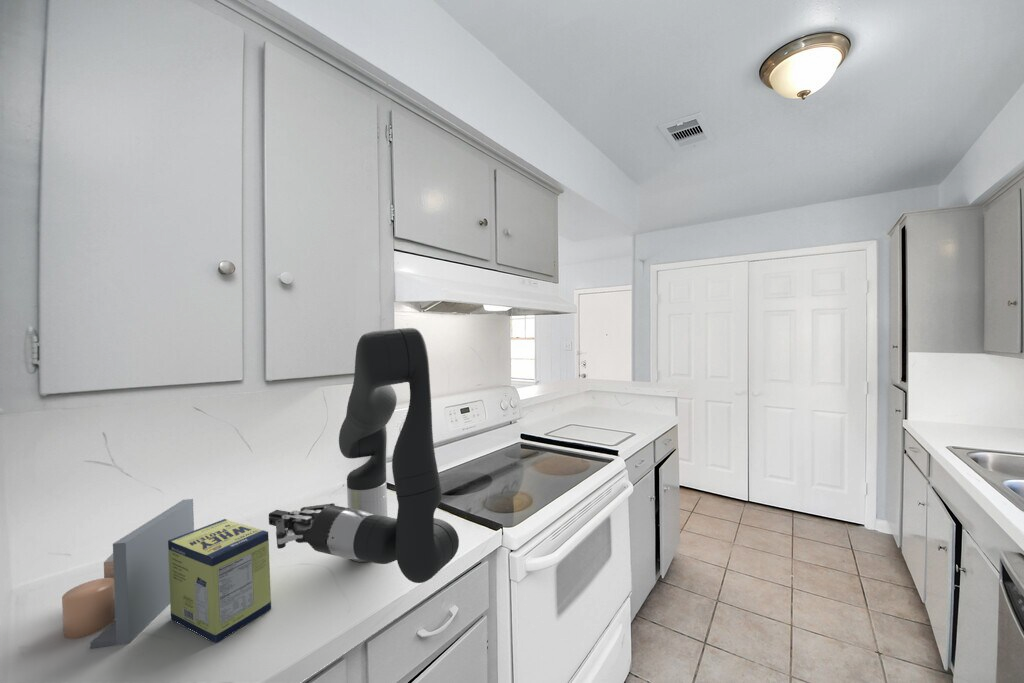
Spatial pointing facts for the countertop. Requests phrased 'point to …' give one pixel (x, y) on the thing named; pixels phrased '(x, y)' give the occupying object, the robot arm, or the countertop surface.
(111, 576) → the tea tin
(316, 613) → the countertop surface
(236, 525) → the protein box
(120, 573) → the display board
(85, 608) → the tan rounded cylinder
